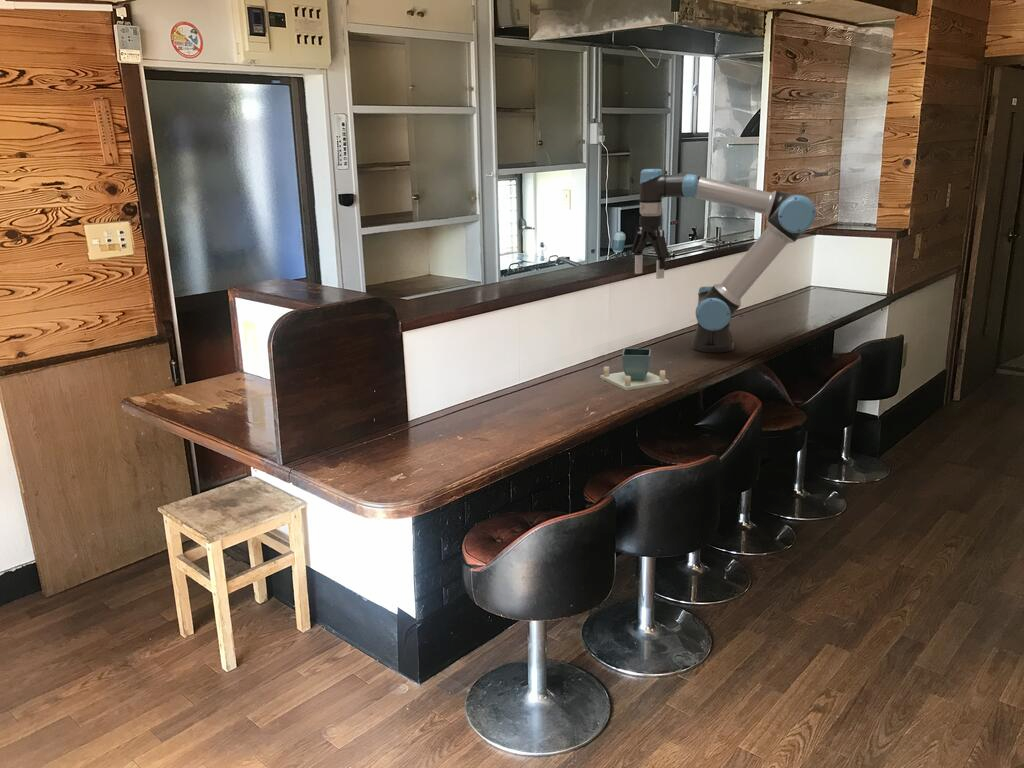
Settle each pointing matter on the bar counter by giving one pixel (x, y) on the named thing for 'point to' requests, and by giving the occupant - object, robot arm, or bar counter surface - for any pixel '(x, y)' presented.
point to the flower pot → (636, 362)
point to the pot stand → (629, 384)
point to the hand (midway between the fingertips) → (649, 275)
